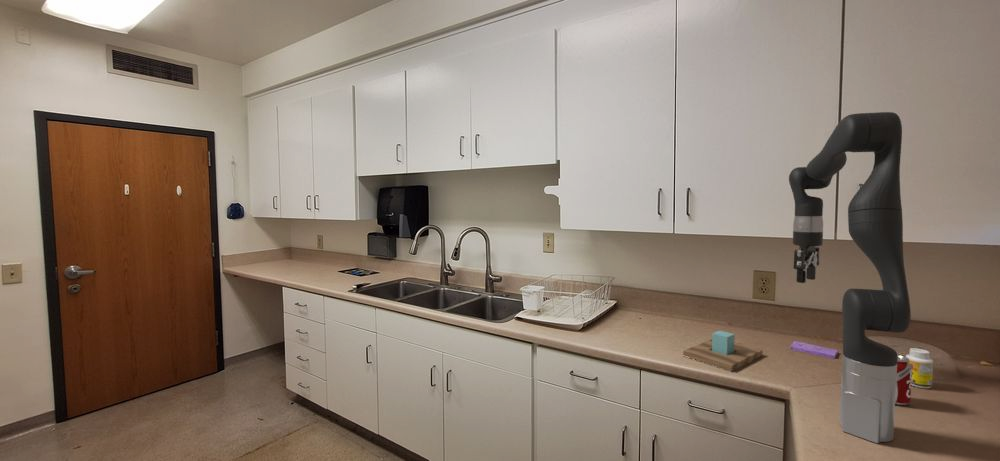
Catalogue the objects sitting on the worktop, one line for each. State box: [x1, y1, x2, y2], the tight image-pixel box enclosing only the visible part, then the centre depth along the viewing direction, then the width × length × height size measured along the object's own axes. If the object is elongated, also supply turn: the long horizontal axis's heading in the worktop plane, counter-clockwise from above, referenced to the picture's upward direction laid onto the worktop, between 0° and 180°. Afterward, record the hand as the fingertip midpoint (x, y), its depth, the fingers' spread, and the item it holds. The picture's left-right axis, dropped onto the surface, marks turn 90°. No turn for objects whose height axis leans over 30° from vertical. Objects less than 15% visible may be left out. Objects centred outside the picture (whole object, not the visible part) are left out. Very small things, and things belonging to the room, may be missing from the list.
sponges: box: [789, 340, 839, 359], centre depth 142 cm, size 7×13×2 cm, turn 42°
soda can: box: [895, 354, 912, 406], centre depth 106 cm, size 7×7×12 cm
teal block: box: [711, 330, 735, 355], centre depth 138 cm, size 5×5×8 cm
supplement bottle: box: [905, 347, 934, 389], centre depth 115 cm, size 6×6×10 cm
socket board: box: [682, 338, 763, 373], centre depth 138 cm, size 22×16×2 cm
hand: (806, 280), depth 127 cm, fingers open, 8 cm apart
